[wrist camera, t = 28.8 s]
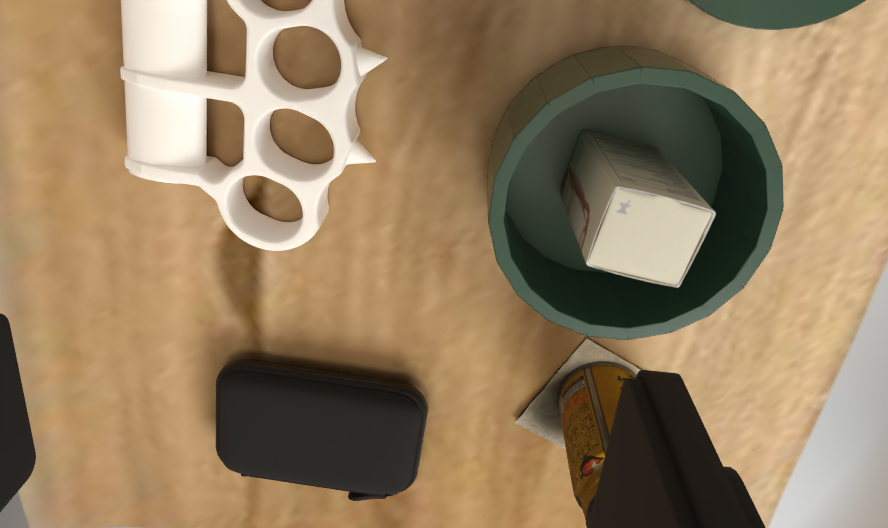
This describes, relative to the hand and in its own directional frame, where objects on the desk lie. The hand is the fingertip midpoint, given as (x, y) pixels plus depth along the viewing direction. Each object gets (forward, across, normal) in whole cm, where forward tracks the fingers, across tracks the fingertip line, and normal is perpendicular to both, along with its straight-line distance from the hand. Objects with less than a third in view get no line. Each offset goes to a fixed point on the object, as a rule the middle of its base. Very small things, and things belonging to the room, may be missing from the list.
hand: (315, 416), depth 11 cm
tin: (+32, -11, +5) cm, 34 cm away
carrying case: (+32, +6, +26) cm, 42 cm away
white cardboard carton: (+32, -11, +5) cm, 34 cm away
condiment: (+32, -13, +22) cm, 41 cm away
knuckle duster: (+32, +10, +2) cm, 34 cm away
